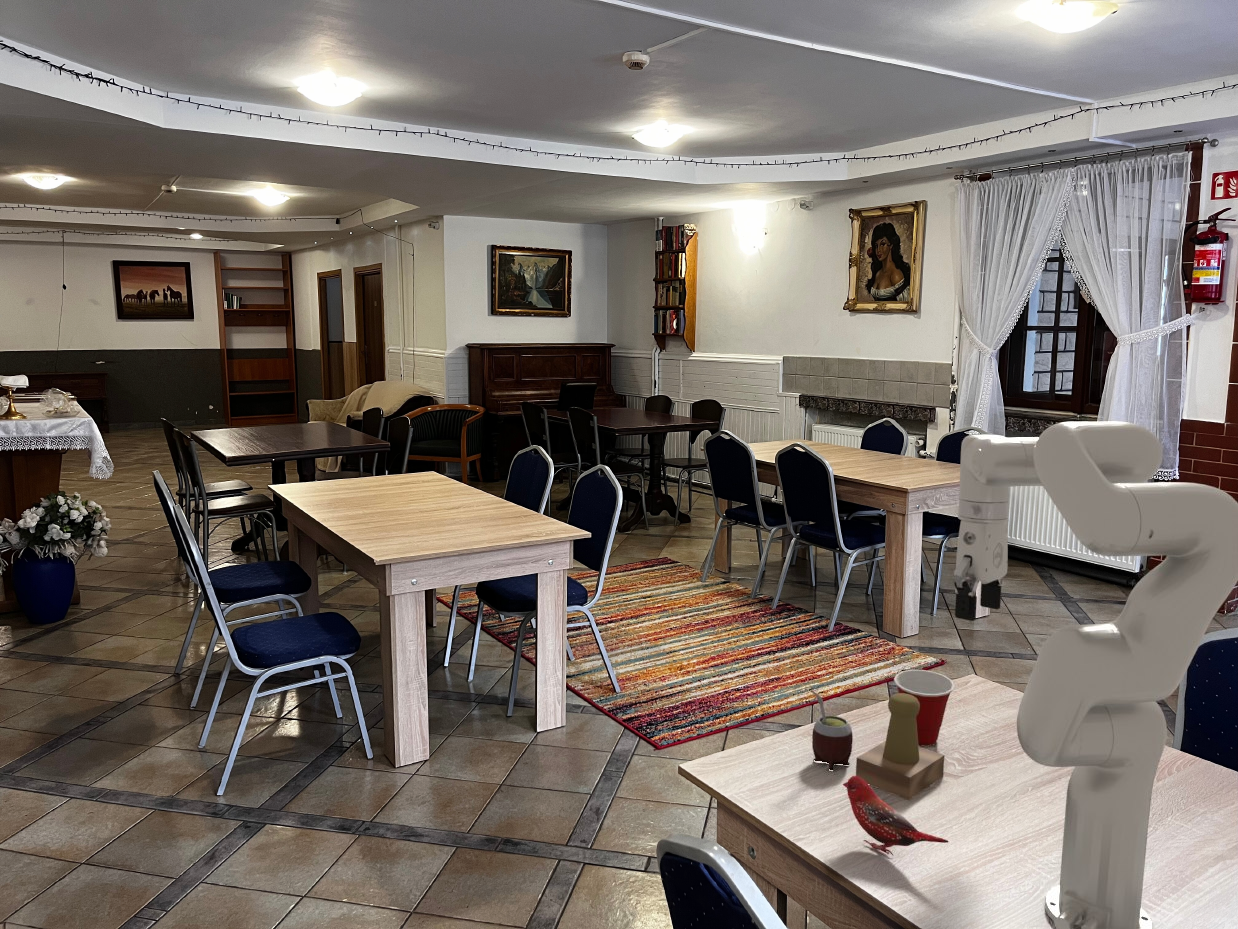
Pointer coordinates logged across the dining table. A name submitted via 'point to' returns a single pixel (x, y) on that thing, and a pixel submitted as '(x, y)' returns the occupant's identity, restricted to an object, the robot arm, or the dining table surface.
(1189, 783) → the dining table surface
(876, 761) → the walnut plinth
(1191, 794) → the dining table surface
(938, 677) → the plastic cup
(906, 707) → the olive pawn figure
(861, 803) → the decorative bird figurine
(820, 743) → the mate gourd
